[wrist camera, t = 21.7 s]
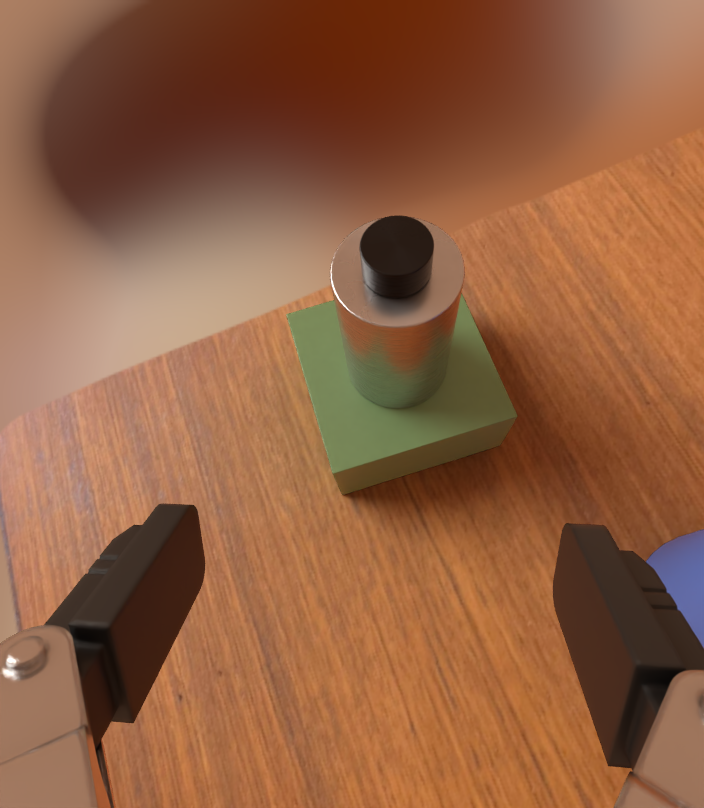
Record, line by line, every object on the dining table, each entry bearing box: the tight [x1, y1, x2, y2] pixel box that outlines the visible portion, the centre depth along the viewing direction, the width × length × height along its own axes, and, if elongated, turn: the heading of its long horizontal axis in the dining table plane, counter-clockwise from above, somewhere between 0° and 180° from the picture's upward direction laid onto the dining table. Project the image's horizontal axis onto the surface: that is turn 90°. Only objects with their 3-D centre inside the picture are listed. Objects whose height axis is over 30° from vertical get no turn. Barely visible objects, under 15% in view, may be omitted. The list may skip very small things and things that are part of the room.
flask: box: [330, 216, 465, 409], centre depth 25 cm, size 5×5×10 cm
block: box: [287, 293, 517, 495], centre depth 32 cm, size 10×10×5 cm
